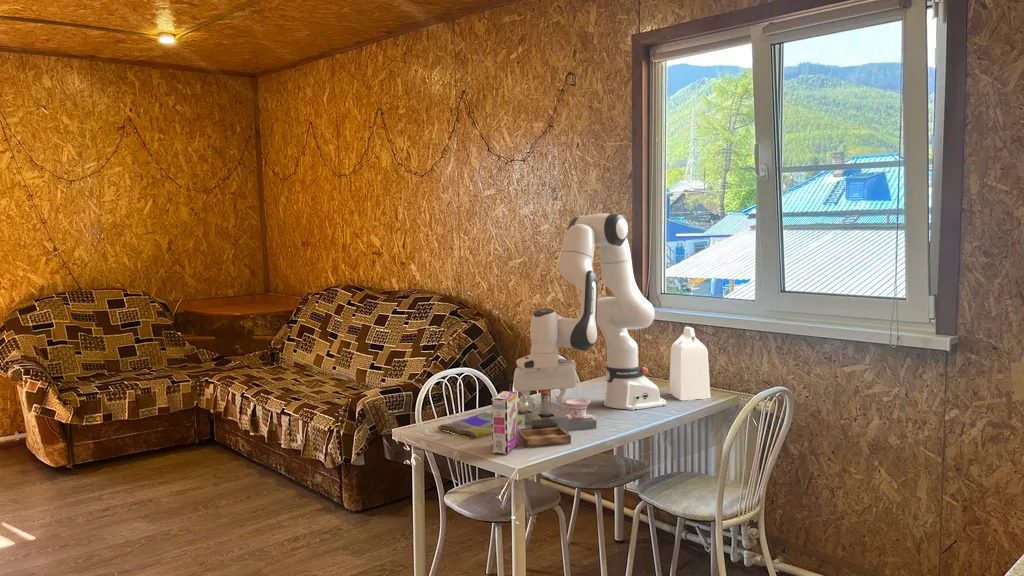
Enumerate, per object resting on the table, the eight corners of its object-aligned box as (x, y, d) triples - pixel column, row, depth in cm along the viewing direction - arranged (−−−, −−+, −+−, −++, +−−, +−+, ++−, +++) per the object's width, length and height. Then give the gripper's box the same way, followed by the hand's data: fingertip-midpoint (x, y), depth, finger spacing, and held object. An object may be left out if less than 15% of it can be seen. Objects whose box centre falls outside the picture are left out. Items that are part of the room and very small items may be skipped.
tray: (561, 435, 242) (561, 427, 242) (571, 443, 232) (570, 435, 232) (518, 439, 239) (517, 431, 239) (525, 447, 229) (525, 439, 229)
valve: (532, 415, 268) (531, 381, 267) (513, 415, 269) (512, 381, 268) (535, 411, 274) (534, 377, 273) (517, 410, 276) (516, 377, 275)
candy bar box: (508, 455, 222) (506, 399, 221) (491, 454, 224) (490, 398, 222) (519, 444, 233) (517, 390, 232) (503, 443, 234) (501, 390, 233)
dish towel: (525, 425, 257) (524, 417, 257) (472, 441, 239) (471, 433, 239) (488, 417, 269) (487, 409, 269) (435, 432, 251) (434, 424, 251)
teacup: (597, 415, 266) (597, 398, 265) (594, 424, 254) (593, 406, 254) (563, 414, 268) (562, 397, 268) (557, 423, 257) (557, 405, 256)
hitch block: (589, 422, 256) (589, 408, 255) (598, 429, 247) (598, 414, 246) (524, 428, 251) (524, 413, 250) (532, 435, 242) (531, 420, 241)
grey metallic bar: (549, 428, 250) (548, 387, 248) (552, 431, 246) (551, 389, 245) (540, 429, 249) (539, 388, 248) (543, 432, 246) (542, 390, 245)
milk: (710, 399, 285) (710, 329, 283) (680, 400, 283) (680, 330, 281) (697, 392, 297) (697, 325, 295) (669, 394, 295) (668, 326, 293)
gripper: (572, 357, 251) (573, 398, 252) (511, 360, 247) (512, 403, 248) (578, 360, 245) (579, 403, 246) (516, 363, 240) (517, 407, 241)
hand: (545, 403), depth 247 cm, fingers open, 8 cm apart
